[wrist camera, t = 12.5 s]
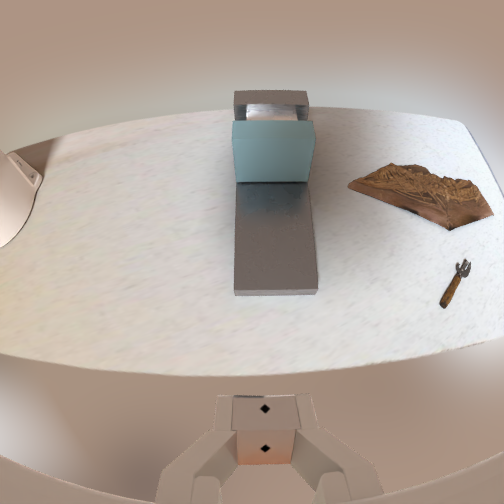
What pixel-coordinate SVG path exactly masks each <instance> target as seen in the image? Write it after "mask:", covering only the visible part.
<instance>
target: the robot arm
mask: <svg viewBox="0 0 504 504" xmlns="http://www.w3.org/2000/svg"><path fill="white" fill-rule="evenodd" d="M41 181H42V176H41V175H40V174H39V173H38V172H37V171H36V170H35V169H33V168H32V167H31V166H30V165H29V164H28V163H26V162H25V161H24V160H23V159H22V158H21V157H20V156H18V155H17V154H16V153H15V152H11V153H9V154H8V155H5V154H4V153H3V152H2V151H1V150H0V247H2V246H4V245H5V244H7V243H8V242H9V241H10V240H11V239H12V238H13V237H14V236H15V235H16V234H17V233H18V232H19V230H20V229H21V228H22V226H23V225H24V223H25V221H26V220H27V218H28V216H29V213H30V211H31V208H32V205H33V202H34V197H35V193H36V191H37V189H38V187H39V185H40V184H41ZM259 464H291V466H292V467H293V468H294V469H295V470H296V471H297V473H298V474H299V475H300V476H301V477H302V478H303V479H304V480H305V481H306V482H307V483H308V485H310V487H311V488H312V489H313V490H314V491H315V492H316V493H315V496H314V499H313V501H312V504H504V451H502V452H500V453H498V454H496V455H494V456H492V457H490V458H488V459H486V460H483V461H481V462H479V463H477V464H474V465H472V466H470V467H467V468H465V469H462V470H460V471H457V472H455V473H452V474H449V475H446V476H444V477H441V478H438V479H435V480H432V481H429V482H426V483H423V484H420V485H417V486H413V487H409V488H406V489H402V490H399V491H395V492H391V493H387V494H384V492H383V489H382V486H381V483H380V480H379V477H378V475H377V472H376V469H375V466H374V464H372V463H371V462H369V461H368V460H367V459H365V458H364V457H362V456H361V455H360V454H358V453H357V452H355V451H354V450H353V449H351V448H350V447H349V446H347V445H346V444H344V443H343V442H342V441H341V440H339V439H338V438H336V437H335V436H334V435H333V434H331V433H330V432H329V431H327V430H326V429H325V428H319V425H318V421H317V417H316V414H315V410H314V406H313V402H312V398H311V395H310V394H295V395H275V396H242V395H234V396H232V395H218V396H217V399H216V409H215V417H214V426H213V430H208V431H207V432H206V433H205V434H203V435H202V436H201V437H200V438H199V439H198V440H197V441H196V442H195V443H193V444H192V445H191V446H190V447H189V448H188V449H187V450H186V451H185V452H183V454H181V455H180V456H179V457H178V458H176V459H175V460H174V461H173V462H172V463H170V465H168V466H167V467H166V468H165V469H163V470H162V472H161V476H160V481H159V485H158V489H157V494H156V499H155V502H154V503H153V502H147V501H142V500H136V499H131V498H126V497H121V496H117V495H112V494H108V493H104V492H101V491H97V490H93V489H89V488H86V487H82V486H79V485H76V484H73V483H70V482H66V481H63V480H60V479H58V478H55V477H52V476H49V475H46V474H44V473H41V472H39V471H36V470H33V469H31V468H29V467H26V466H24V465H21V464H19V463H17V462H15V461H12V460H10V459H8V458H6V457H4V456H2V455H0V504H222V497H221V489H220V488H221V487H222V486H223V485H224V483H225V482H226V481H227V480H228V478H229V477H230V476H231V475H232V473H233V472H234V471H235V469H236V468H237V467H238V465H259Z"/></svg>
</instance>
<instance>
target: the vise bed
mask: <svg viewBox="0 0 504 504" xmlns="http://www.w3.org/2000/svg"><path fill="white" fill-rule="evenodd" d="M262 110H281V111H296V113H297V119H298V121H307V117H308V110H309V102H308V97H307V93H306V91H291V90H287V91H286V90H248V91H235V92H234V114H235V121H247V111H262ZM317 290H318V280H317V268H316V257H315V246H314V236H313V226H312V217H311V208H310V199H309V191H308V183H307V182H295V181H274V182H236V216H235V258H234V293H235V296H273V295H315V294H316V292H317Z"/></svg>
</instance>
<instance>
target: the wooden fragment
mask: <svg viewBox="0 0 504 504" xmlns="http://www.w3.org/2000/svg"><path fill="white" fill-rule="evenodd" d="M348 188H350V189H352V190H355V191H358V192H360V193H363V194H366V195H369V196H371V197H374V198H377V199H379V200H382V201H384V202H386V203H389V204H391V205H394V206H396V207H399V208H402V209H405V210H408V211H410V212H412V213H414V214H417V215H419V216H421V217H423V218H425V219H427V220H429V221H432V222H434V223H436V224H439V225H440V226H442V227H444V228H446V229H447V230H449V231H451V230H453V229H455V228H457V227H460V226H463V225H466V224H469V223H472V222H475V221H478V220H480V219H484V218H486V217H488V216H491V215H493V216H494V214H493V212H492V210H491V208H490V206H489V205H488V203H487V202H486V200H485V198H484V197H483V196H482V194H481V192H480V191H479V189H478V187H477V186H476V185H474V184H473V183H472V182H471V181H470V180H468V181H467V180H462V179H456V180H454V179H452V178H447V177H446V176H444V178H439V177H438V176H437V175H435V174H430V172H429V171H428V169H426V168H425V167H422V166H419V165H416V164H415V165H408V166H406V165H405V166H397V165H394V164H393V163H390V164H389V165H387V166H385V167H383V168H380V169H379V170H377V171H376V172H373V173H371V174H369V175H367V176H366V177H364V178H359V179H357V180H354V181H353V182H351V183H349V185H348Z"/></svg>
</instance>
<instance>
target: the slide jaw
mask: <svg viewBox="0 0 504 504" xmlns="http://www.w3.org/2000/svg"><path fill="white" fill-rule="evenodd" d="M315 141H316V137H315V132H314V127H313V122H312V121H297V120H248V121H233V126H232V146H233V156H234V165H235V175H236V182H274V181H295V182H308V178H309V173H310V168H311V162H312V157H313V152H314V146H315Z"/></svg>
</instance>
